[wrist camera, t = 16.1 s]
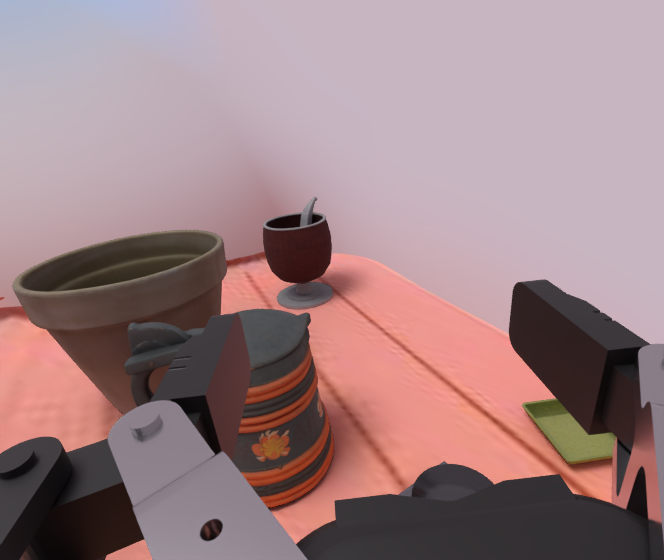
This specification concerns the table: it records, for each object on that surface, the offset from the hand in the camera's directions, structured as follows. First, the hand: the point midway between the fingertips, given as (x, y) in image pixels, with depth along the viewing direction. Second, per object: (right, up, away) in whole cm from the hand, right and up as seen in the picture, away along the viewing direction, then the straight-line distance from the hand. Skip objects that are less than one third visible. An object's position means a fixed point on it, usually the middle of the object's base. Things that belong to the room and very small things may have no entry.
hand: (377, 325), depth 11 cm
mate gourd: (-7, -2, +73) cm, 74 cm away
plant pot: (-26, -15, +48) cm, 57 cm away
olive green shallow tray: (+26, -17, +32) cm, 44 cm away
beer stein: (-10, -20, +33) cm, 40 cm away
